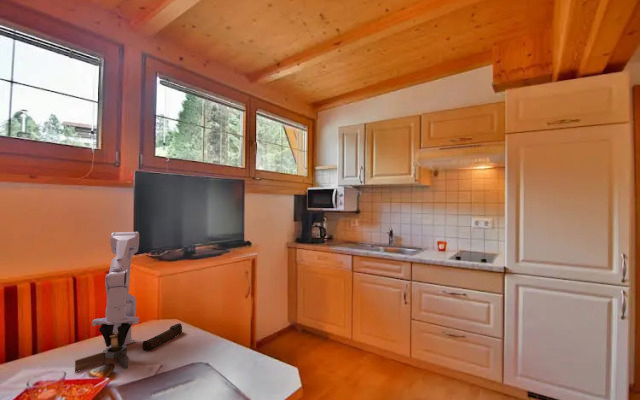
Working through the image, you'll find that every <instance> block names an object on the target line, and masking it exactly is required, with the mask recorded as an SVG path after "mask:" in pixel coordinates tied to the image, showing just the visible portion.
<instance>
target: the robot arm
mask: <svg viewBox="0 0 640 400" xmlns="http://www.w3.org/2000/svg"><path fill="white" fill-rule="evenodd" d="M109 243H110V247H111V251H112V254H114V255H115V256H114V257H113V258H112V259H111V262H110V266H109V271H108V273H106V275H105V279H104V283H105V285H104V286H105V295H106V307H105V317H102V318H95V319H93V320H92V322H91V323H92V324H91V327H96V326H100V327H99V328H98V331H99V332H100V334H101V336H102V337H103V340H104V342H103V343H105V346H106V348H108V347H111V340H110V337H109V334H111V333H113V332H118V333H119V346H122V345H125V346H127V345H130V344H134V343H135V342H136V340H135V339H133V338H132V331H133V330H132V325H137V324H139V323H140V316H137V315H136V313H137V298H136V297H135V296H134V295H133V294H130V282H131V281H130V280H131V268H132V267H131V264H132V259H133V256H134V255H135V254H136V253H138V252H139V246H140V232H138V231H124V232H123V231H120V232H119V231H118V232H115V231H113V232H112V233H111V234H110V241H109Z"/></svg>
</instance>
